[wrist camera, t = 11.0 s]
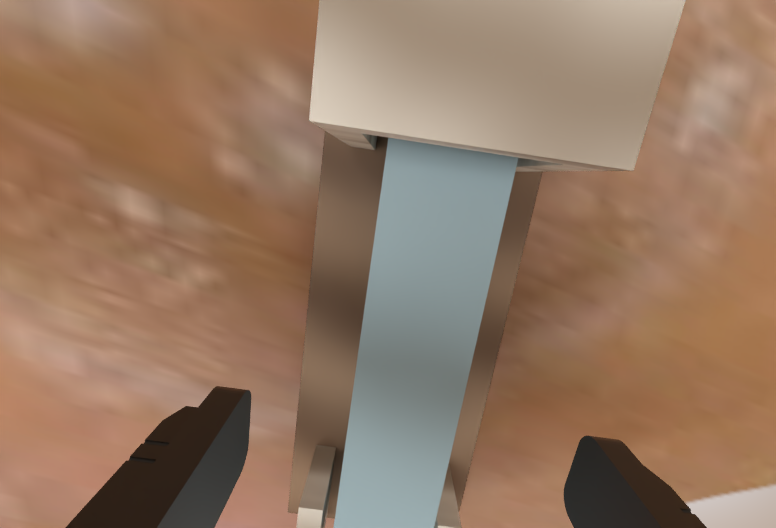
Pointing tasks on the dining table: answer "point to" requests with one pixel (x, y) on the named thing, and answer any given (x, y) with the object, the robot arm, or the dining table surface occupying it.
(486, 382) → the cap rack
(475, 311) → the slat
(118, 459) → the dining table surface
